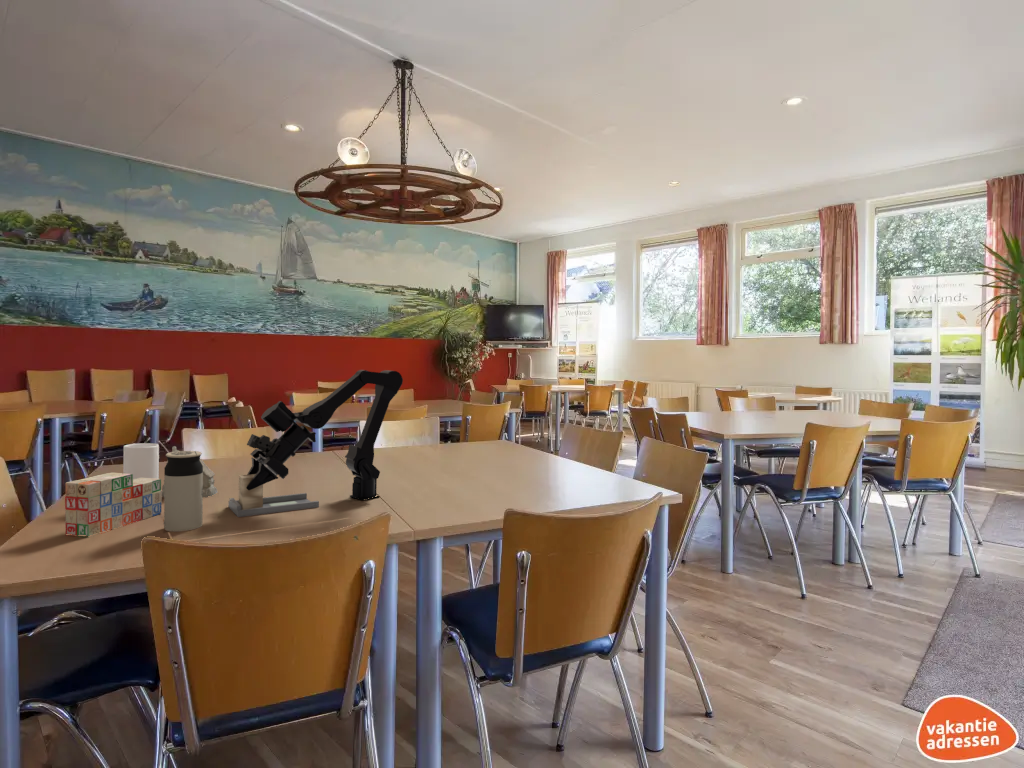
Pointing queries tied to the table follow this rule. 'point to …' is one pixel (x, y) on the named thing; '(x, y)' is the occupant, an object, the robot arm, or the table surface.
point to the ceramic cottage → (207, 479)
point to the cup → (141, 460)
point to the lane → (275, 505)
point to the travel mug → (183, 491)
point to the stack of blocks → (110, 502)
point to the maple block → (249, 493)
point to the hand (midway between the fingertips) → (245, 487)
